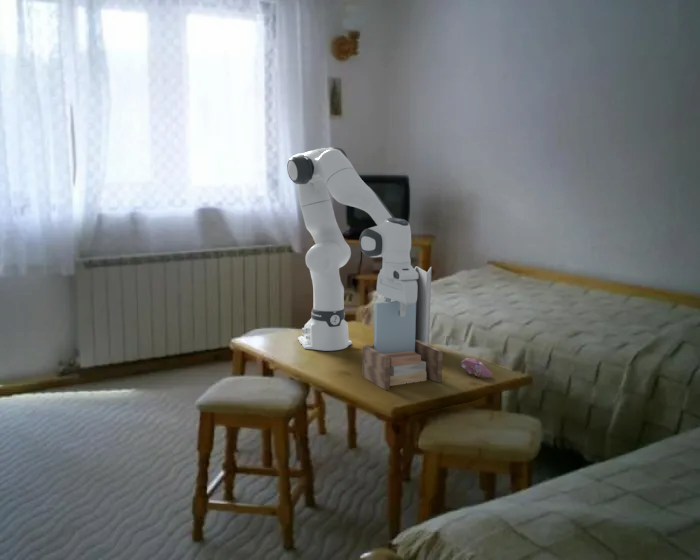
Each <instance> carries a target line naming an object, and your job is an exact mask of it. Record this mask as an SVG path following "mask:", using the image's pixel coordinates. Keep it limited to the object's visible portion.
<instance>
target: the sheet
mask: <svg viewBox="0 0 700 560" xmlns="http://www.w3.org/2000/svg"><path fill="white" fill-rule="evenodd" d="M400 307H401V306H400V302H397V301H394V300H391V302H384V301H382V302H374V325H373V327H374V328H373V329H374V330H373V331H374V333H373V335H374V336H373V337H374V339H373V345H374V349H375V350H377V351H379V352H381V353H383V354H384V353H395V352H406V351H414V352H415V327H416V303H415V304H412V305H408V307H407V309H406V315H405V316H404V317H401V316H399V315H398V310H400Z"/></svg>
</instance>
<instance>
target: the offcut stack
mask: <svg viewBox="0 0 700 560" xmlns="http://www.w3.org/2000/svg"><path fill="white" fill-rule="evenodd" d="M384 354H385V355H386V356H388V357H390V385H389V387H391V386H399V385H406V383H407V384H412V383H413V382H414V383H419V382H420V381H421V382H427V378H428V377H427V372H426V362H425V361H422V360H421V355H419V354H417V353H415V352H414V351H406V352H395V353H384ZM414 383H413V384H414Z"/></svg>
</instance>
